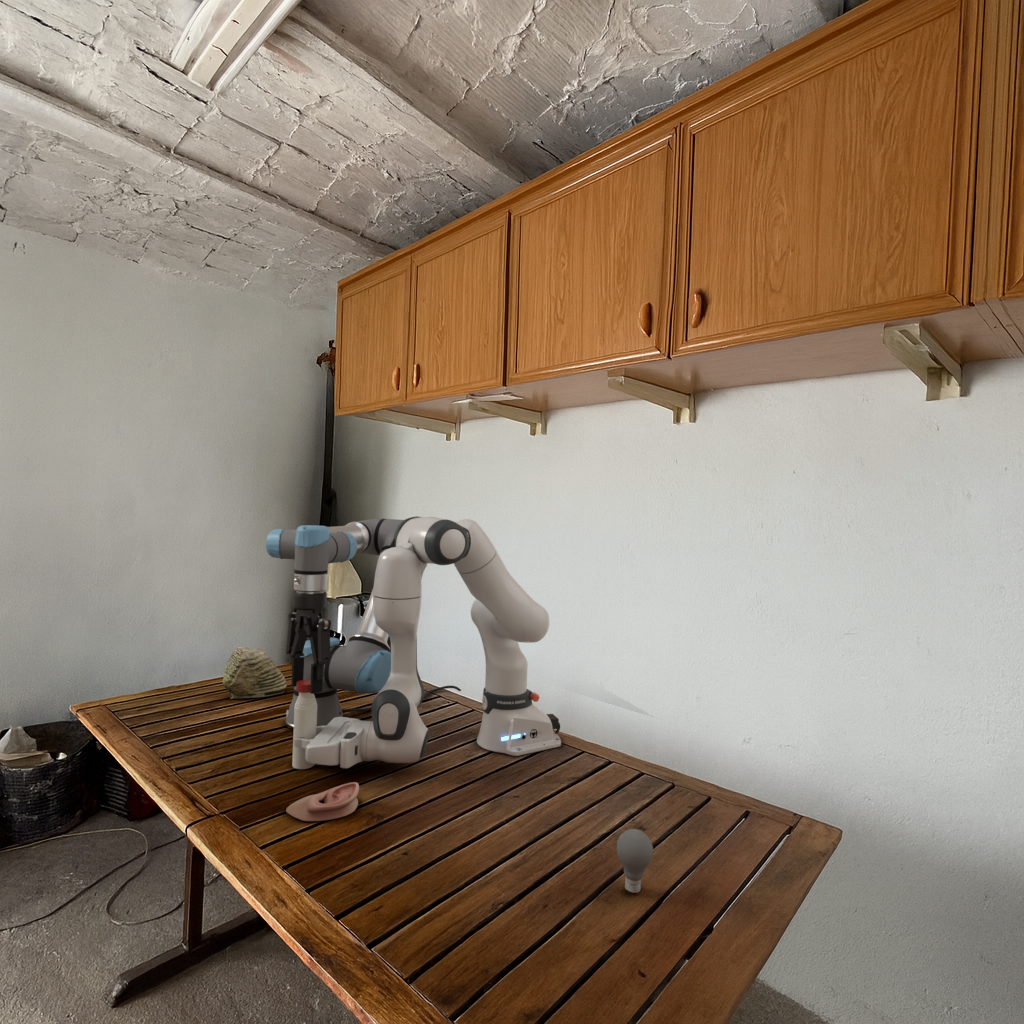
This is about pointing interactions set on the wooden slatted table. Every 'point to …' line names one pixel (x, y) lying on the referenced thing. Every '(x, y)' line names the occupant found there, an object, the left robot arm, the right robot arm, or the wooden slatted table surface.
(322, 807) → the anatomical model
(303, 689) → the cap
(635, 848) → the light bulb
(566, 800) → the wooden slatted table surface
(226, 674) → the fossil
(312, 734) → the bottle
